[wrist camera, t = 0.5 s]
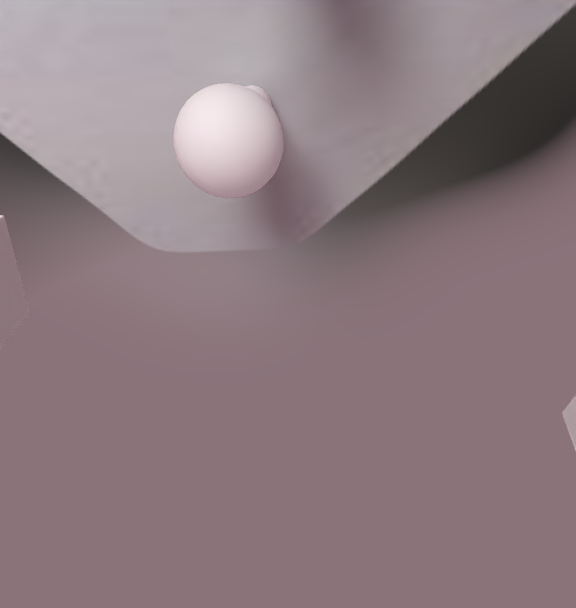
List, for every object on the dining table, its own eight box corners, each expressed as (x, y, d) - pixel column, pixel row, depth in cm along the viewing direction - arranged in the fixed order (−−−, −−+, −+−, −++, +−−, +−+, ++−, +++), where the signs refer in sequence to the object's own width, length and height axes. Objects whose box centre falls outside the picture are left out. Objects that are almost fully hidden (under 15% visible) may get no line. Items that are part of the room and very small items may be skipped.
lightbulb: (314, 80, 33) (294, 138, 24) (277, 159, 37) (248, 234, 28) (229, 34, 32) (177, 78, 23) (199, 121, 36) (144, 186, 27)
